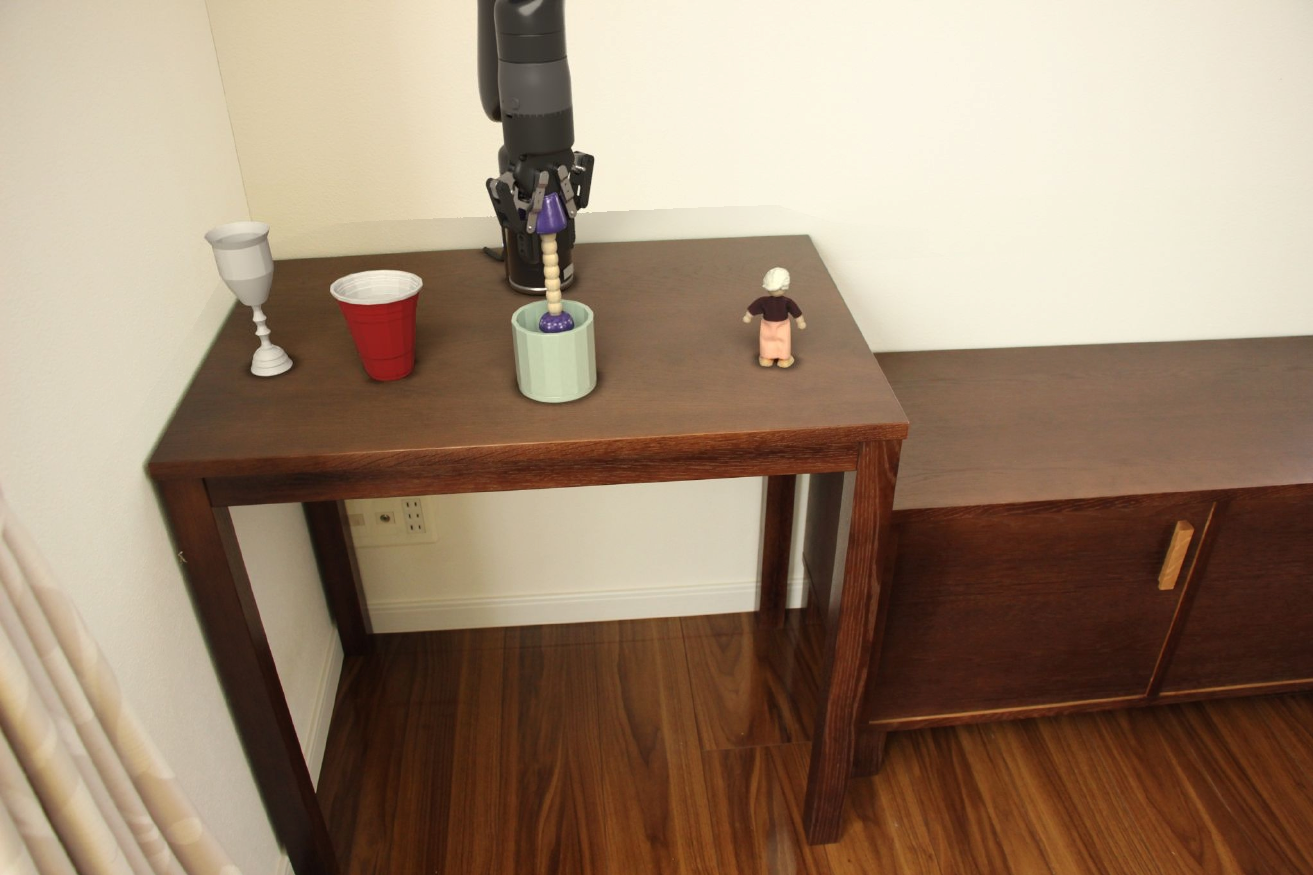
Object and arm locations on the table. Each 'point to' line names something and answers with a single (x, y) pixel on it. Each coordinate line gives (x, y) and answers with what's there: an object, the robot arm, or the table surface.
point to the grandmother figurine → (775, 319)
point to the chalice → (250, 282)
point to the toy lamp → (552, 264)
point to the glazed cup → (554, 354)
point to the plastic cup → (381, 319)
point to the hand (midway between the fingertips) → (548, 254)
